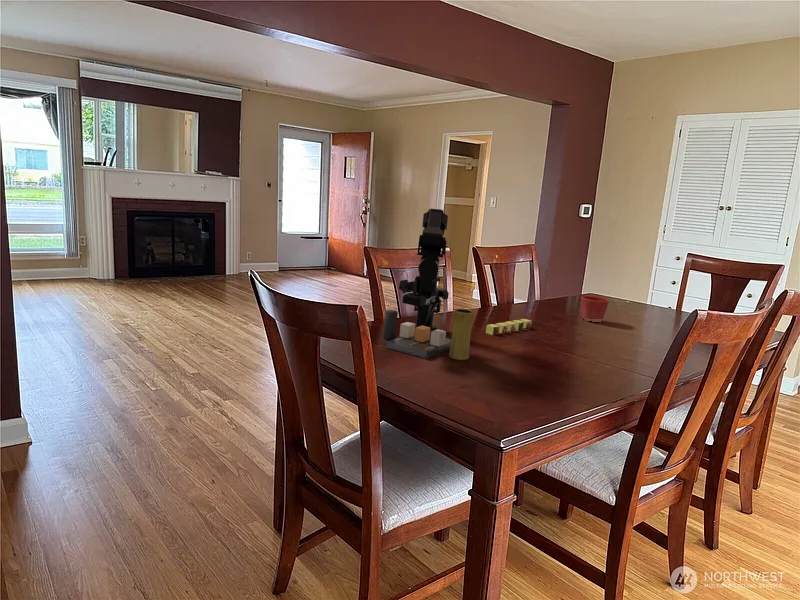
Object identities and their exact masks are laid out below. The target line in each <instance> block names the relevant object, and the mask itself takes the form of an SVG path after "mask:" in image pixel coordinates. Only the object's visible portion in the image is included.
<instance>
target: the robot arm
mask: <svg viewBox="0 0 800 600" xmlns="http://www.w3.org/2000/svg"><path fill="white" fill-rule="evenodd" d="M422 217H423V218H422V225H421V227H422V228H423V229H422V232H421V234H419V237H418V245H417V254H416V255H417V256H421V257H420V262H419V265H418V267H417V269H418V275H416V276H415V277H414V278H415V279H414V280H413V281H409V280H408V279H402V280H399V285H398V286H399V287H398V290H399V291H401V293H402V294H403V295H402V298H401V299H402V300H401V303H402V304H406V305H408V306H409V305H410V306H414V308H413V309H414V310H413V311H414V312H417V315H416V323H415V329H416V327H419V326H426V327H430V331H433V330H435V329H437V326H436V325H434V318H435V317H434V316H435V314H439V313H440V312H441V304H442V300H448V299H449V295H450V293H449V291H448V289H445V288H440V287H437V286H438V282H441V277H438V276H439V269H440V261H441V259H440V258H444V255H446V253H447V243H448V242H447V240H446V239H447V238H446V237H445V236H444V235H445V231H446V230H448V229H447V228H448V221H449V216H448V215H447V214H446V213H445V212H444V210H443V209H442V208H441V209H439V208H429V209H428V210H427V212H425V213H423V216H422ZM441 298H442V300H441Z"/></svg>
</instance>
